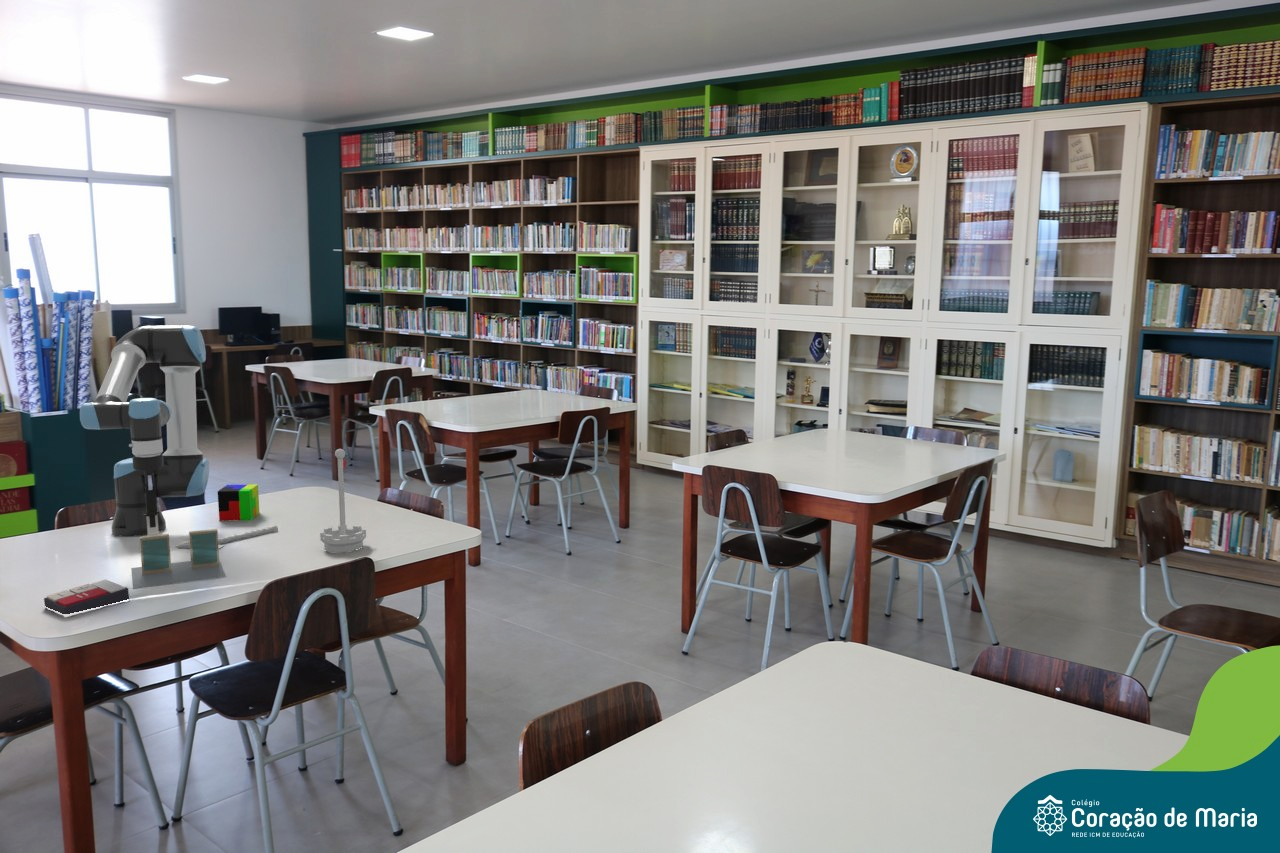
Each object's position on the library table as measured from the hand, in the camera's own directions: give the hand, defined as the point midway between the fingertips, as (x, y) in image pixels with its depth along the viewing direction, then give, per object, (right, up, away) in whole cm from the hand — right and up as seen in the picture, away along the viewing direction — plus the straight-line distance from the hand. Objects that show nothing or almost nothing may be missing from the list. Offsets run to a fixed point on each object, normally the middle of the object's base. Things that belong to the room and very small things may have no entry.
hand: (153, 537), depth 264 cm
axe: (+11, -5, +25) cm, 28 cm away
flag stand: (+47, -5, +19) cm, 51 cm away
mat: (+11, -9, -8) cm, 16 cm away
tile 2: (+15, -8, -2) cm, 17 cm away
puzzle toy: (+1, 0, +54) cm, 54 cm away
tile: (+5, -8, -8) cm, 13 cm away
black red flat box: (0, -13, -32) cm, 35 cm away
